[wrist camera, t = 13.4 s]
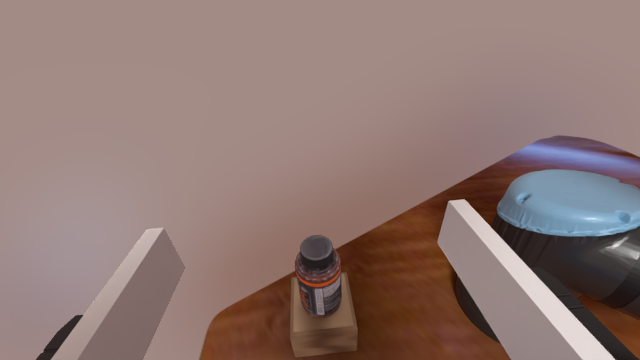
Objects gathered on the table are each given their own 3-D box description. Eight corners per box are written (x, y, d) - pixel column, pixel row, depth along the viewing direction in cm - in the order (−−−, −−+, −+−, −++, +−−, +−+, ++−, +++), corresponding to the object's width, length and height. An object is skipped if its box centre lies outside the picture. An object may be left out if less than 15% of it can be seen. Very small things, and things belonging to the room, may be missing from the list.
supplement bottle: (294, 292, 38) (284, 239, 32) (329, 275, 40) (326, 222, 34) (311, 328, 33) (303, 274, 27) (349, 307, 35) (350, 252, 29)
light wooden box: (346, 293, 44) (346, 270, 40) (356, 350, 36) (357, 328, 33) (295, 299, 44) (291, 276, 40) (295, 357, 36) (289, 335, 33)
